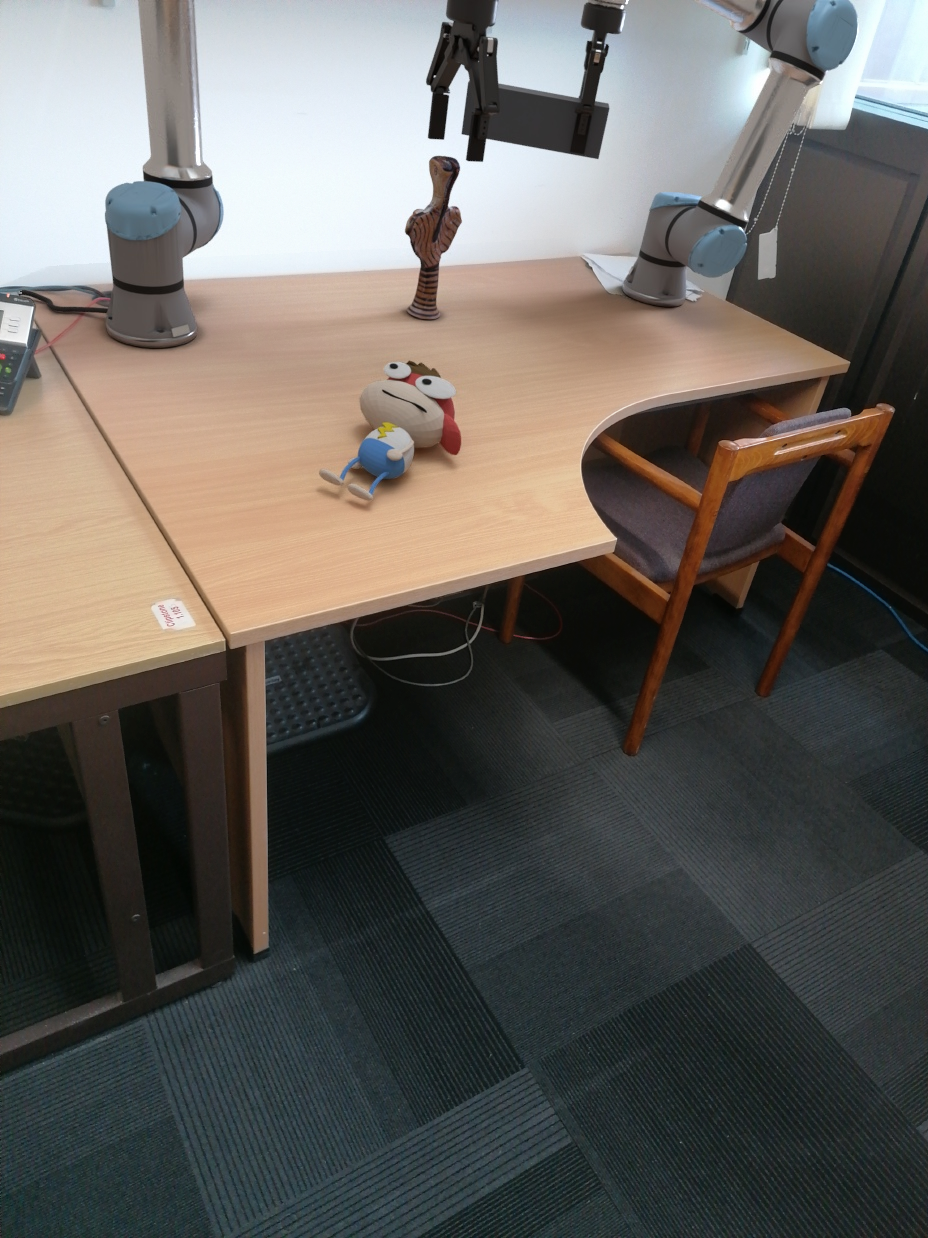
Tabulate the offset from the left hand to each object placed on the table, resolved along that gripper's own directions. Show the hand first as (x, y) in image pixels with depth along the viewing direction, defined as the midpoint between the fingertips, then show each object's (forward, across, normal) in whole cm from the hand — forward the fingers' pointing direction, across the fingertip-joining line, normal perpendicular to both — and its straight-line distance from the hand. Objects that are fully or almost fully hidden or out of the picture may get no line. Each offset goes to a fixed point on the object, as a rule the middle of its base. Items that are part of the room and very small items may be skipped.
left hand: (454, 149), depth 144 cm
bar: (+3, +20, -28) cm, 34 cm away
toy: (+36, -32, +22) cm, 53 cm away
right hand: (+2, +15, -35) cm, 38 cm away
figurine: (+36, +21, -10) cm, 42 cm away
